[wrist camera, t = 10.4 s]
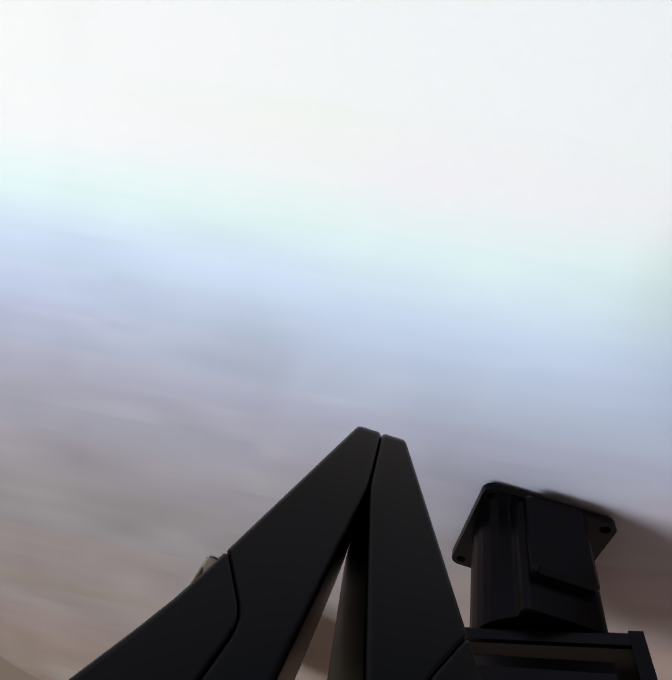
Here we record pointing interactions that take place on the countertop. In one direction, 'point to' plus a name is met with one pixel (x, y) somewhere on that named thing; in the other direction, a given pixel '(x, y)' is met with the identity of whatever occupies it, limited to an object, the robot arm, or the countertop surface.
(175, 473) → the countertop surface
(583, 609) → the robot arm
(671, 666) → the countertop surface
